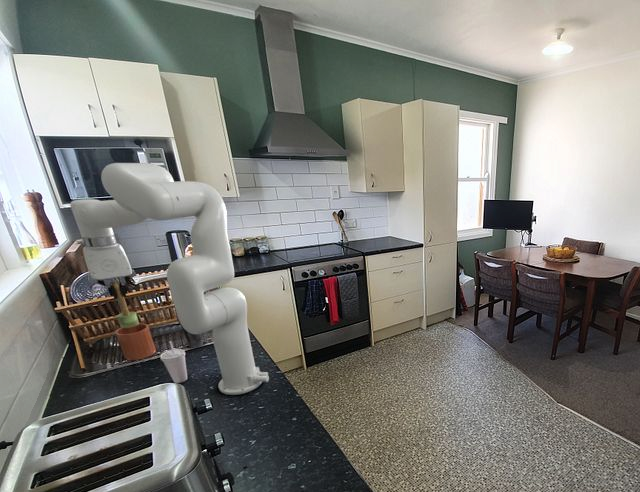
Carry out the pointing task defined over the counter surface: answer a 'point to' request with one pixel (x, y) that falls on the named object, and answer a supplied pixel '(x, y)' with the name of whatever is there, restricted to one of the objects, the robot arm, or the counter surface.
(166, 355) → the smoothie
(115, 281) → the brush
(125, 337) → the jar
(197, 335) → the beverage cup
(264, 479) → the counter surface
